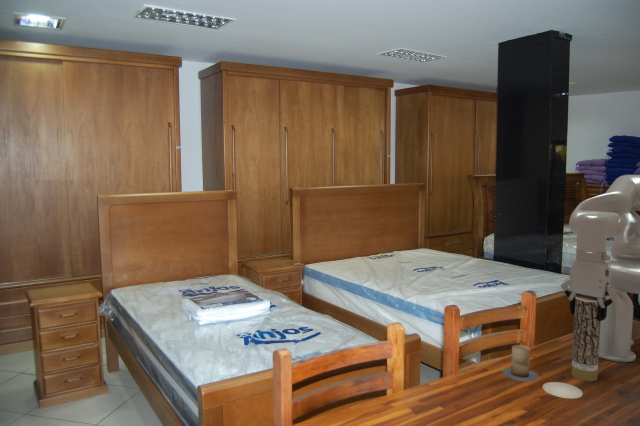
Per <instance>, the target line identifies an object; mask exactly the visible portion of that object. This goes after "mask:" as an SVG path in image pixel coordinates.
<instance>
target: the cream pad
mask: <svg viewBox="0 0 640 426" xmlns="http://www.w3.org/2000/svg"><path fill="white" fill-rule="evenodd" d="M542 389H543V390H544V391H545V392H546V393H548V394H549V395H552V396H554V397H556V398H557V397H558V398H562V399H568V400H569V399H571V400H572V399H579V398H581V397H582V396H583V394H584V393H583V391H582V389H580V388H579V387H577V386H574V385H572V384H569V383H564V382H559V381H554V382H553V381H550V382H545V383H544V384H543V385H542Z"/></svg>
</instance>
